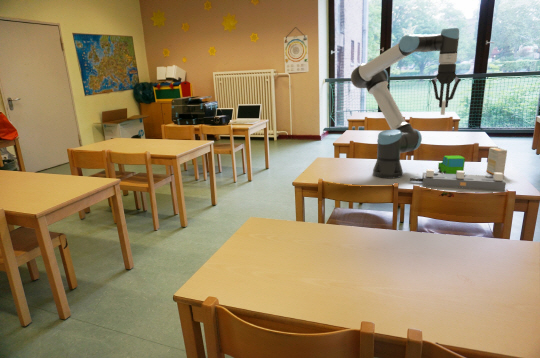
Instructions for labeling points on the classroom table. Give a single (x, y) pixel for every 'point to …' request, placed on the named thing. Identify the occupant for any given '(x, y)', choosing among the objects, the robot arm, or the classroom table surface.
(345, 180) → the classroom table surface
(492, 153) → the supplement box
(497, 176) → the block
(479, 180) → the power strip
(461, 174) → the slider middle
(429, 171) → the slider near arm
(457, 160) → the toy car
